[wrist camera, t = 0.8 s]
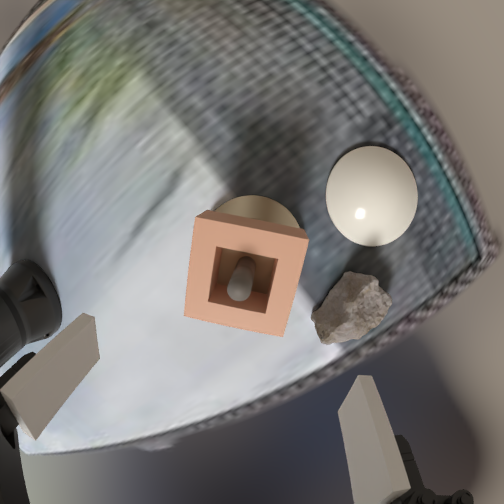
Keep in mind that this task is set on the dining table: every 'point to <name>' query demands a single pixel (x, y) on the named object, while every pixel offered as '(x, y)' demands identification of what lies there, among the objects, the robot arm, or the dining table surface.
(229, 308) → the link
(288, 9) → the dining table surface
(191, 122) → the dining table surface
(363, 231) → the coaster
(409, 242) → the dining table surface
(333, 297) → the stone
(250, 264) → the stand
